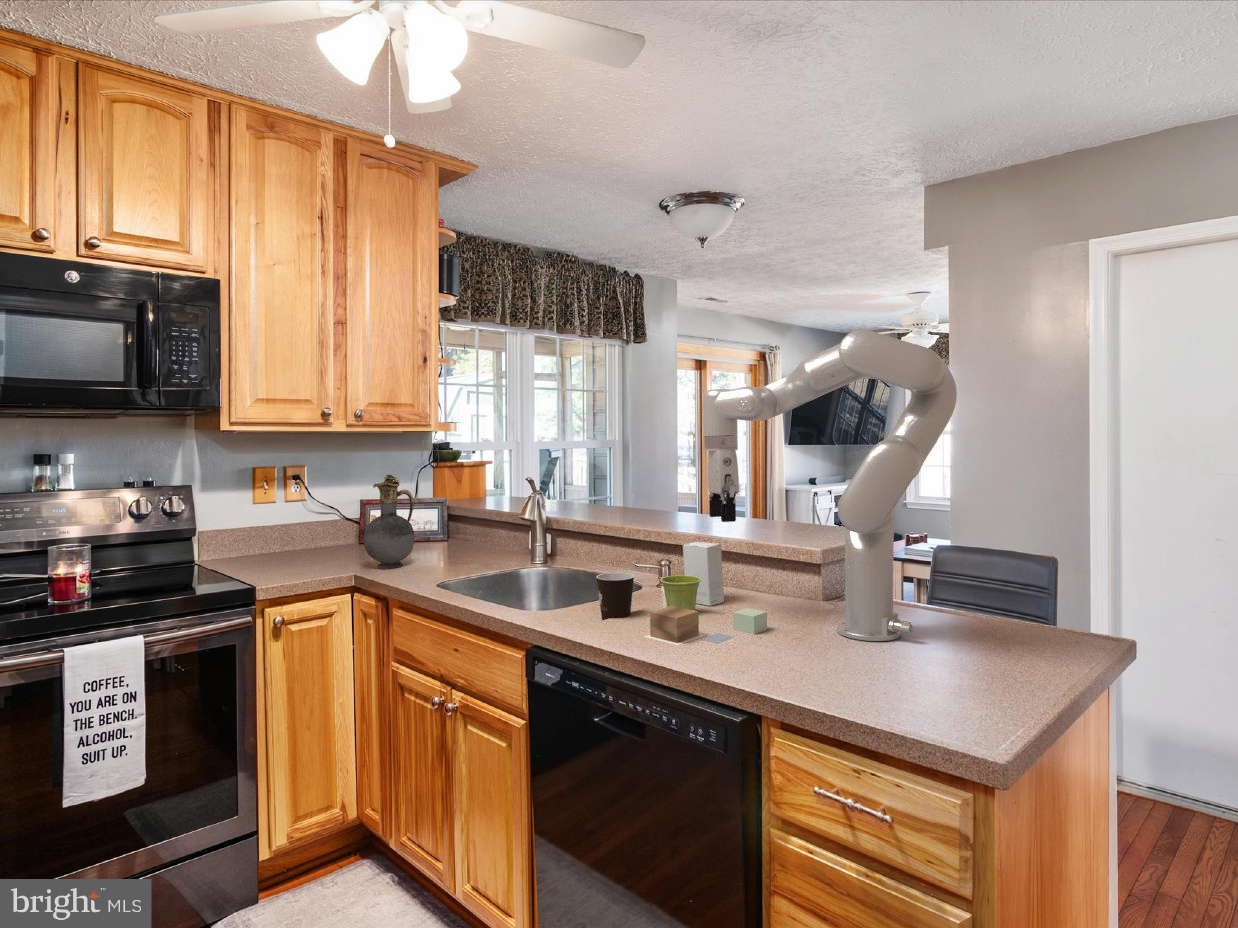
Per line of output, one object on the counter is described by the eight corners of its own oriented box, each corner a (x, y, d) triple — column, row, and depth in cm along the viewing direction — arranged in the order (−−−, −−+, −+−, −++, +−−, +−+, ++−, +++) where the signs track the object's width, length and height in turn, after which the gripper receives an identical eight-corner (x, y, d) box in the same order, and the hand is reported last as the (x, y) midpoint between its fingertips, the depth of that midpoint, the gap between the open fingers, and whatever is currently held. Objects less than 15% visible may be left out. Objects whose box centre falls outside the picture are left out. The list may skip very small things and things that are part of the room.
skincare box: (724, 602, 181) (723, 543, 180) (709, 607, 177) (708, 546, 176) (698, 597, 187) (697, 540, 186) (682, 601, 183) (682, 542, 182)
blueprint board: (745, 642, 147) (744, 636, 147) (696, 661, 136) (696, 654, 136) (668, 624, 161) (668, 619, 161) (619, 640, 150) (619, 635, 150)
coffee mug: (630, 625, 161) (630, 580, 161) (593, 623, 163) (592, 579, 163) (639, 612, 173) (639, 570, 172) (604, 611, 175) (603, 569, 174)
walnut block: (698, 635, 149) (698, 611, 148) (677, 642, 143) (676, 617, 143) (672, 629, 153) (671, 605, 153) (650, 636, 148) (650, 612, 148)
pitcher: (359, 570, 232) (356, 476, 230) (402, 560, 249) (399, 472, 247) (384, 572, 227) (381, 476, 225) (427, 562, 244) (424, 472, 242)
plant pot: (654, 618, 167) (653, 581, 167) (670, 609, 175) (670, 573, 175) (692, 623, 163) (691, 584, 162) (707, 613, 171) (706, 576, 171)
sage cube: (767, 635, 152) (767, 611, 152) (753, 640, 149) (753, 616, 149) (747, 631, 156) (746, 607, 156) (733, 636, 152) (733, 612, 152)
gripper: (749, 444, 157) (750, 522, 158) (725, 443, 174) (727, 514, 175) (715, 444, 156) (716, 524, 157) (695, 444, 173) (696, 515, 174)
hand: (722, 519), depth 166 cm, fingers open, 9 cm apart
